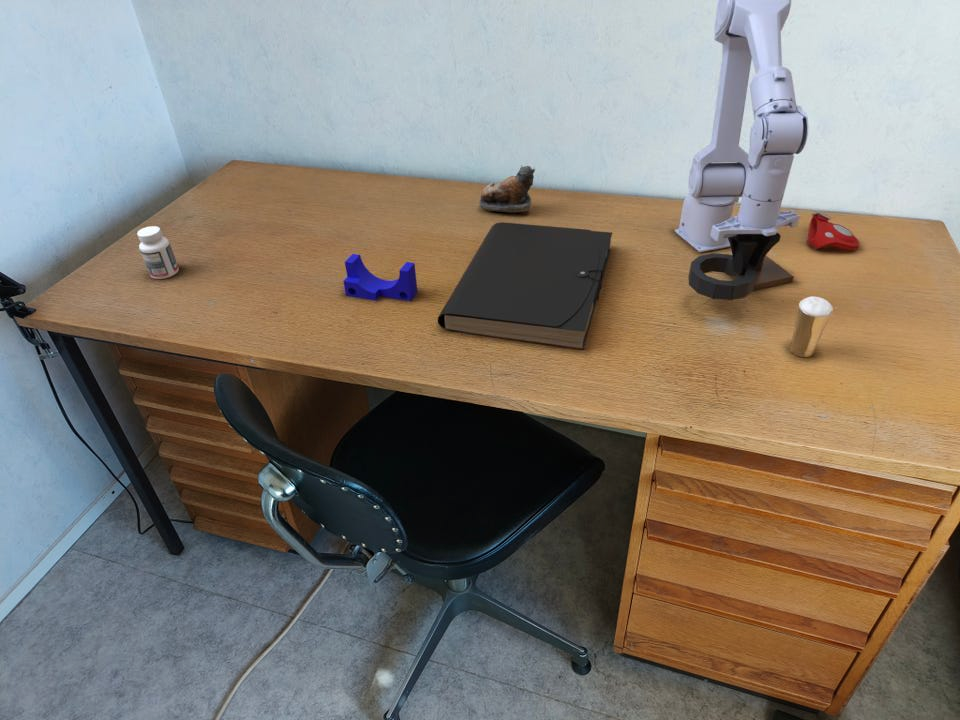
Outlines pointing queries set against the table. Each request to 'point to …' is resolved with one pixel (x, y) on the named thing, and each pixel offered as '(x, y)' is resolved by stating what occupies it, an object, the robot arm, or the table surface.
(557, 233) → the dark grey book
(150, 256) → the pill bottle
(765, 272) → the brown peg stand
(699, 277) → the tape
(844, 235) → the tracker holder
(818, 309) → the milkshake
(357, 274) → the blue cradle bracket
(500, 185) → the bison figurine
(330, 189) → the table surface
